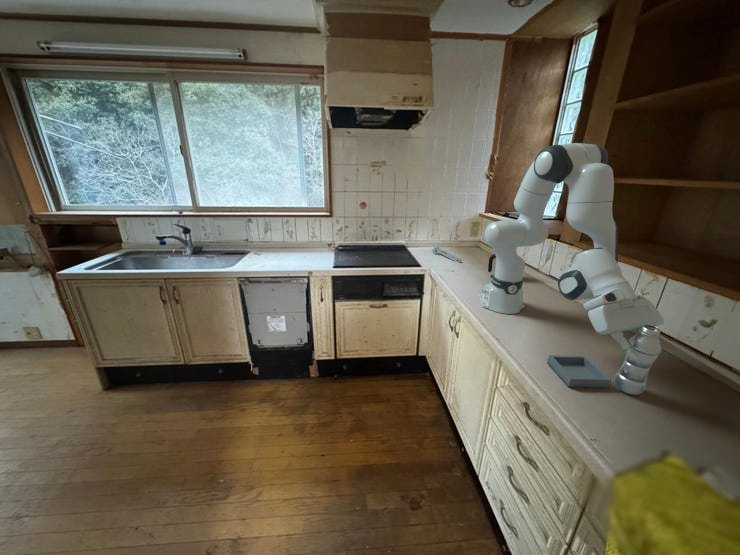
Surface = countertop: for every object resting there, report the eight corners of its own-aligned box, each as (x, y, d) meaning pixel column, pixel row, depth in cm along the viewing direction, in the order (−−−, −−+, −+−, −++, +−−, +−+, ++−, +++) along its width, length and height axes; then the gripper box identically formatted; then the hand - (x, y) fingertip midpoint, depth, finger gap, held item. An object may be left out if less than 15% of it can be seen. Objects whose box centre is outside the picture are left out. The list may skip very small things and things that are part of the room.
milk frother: (509, 275, 170) (513, 251, 165) (519, 285, 156) (524, 259, 150) (484, 274, 172) (487, 250, 166) (491, 284, 157) (496, 258, 152)
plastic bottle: (627, 381, 86) (650, 321, 79) (648, 398, 79) (676, 334, 72) (606, 381, 85) (627, 321, 78) (625, 398, 79) (651, 335, 72)
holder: (546, 363, 93) (549, 355, 92) (582, 363, 93) (584, 355, 92) (568, 387, 83) (570, 378, 82) (607, 388, 83) (610, 379, 82)
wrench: (458, 267, 194) (429, 251, 217) (460, 266, 195) (431, 251, 218) (460, 256, 191) (430, 241, 214) (462, 255, 191) (432, 241, 214)
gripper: (633, 298, 88) (659, 343, 83) (578, 305, 84) (601, 354, 78) (654, 290, 83) (683, 338, 77) (596, 297, 78) (623, 349, 73)
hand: (642, 346), depth 78 cm, fingers open, 8 cm apart
